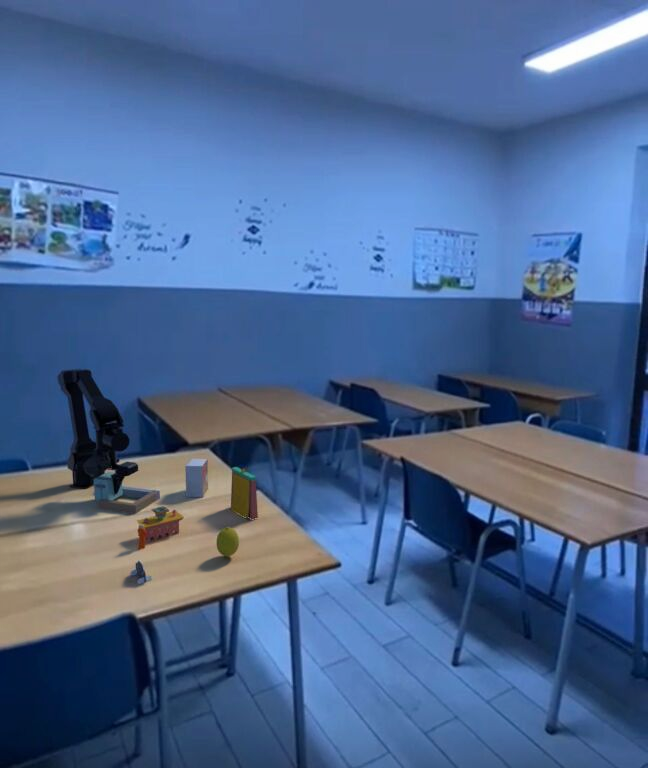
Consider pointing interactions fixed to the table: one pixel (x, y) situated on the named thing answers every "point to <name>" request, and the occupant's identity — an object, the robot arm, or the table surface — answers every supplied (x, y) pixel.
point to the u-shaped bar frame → (144, 501)
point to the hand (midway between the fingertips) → (108, 492)
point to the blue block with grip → (105, 487)
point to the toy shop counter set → (169, 522)
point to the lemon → (227, 541)
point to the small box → (196, 477)
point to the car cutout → (140, 573)
